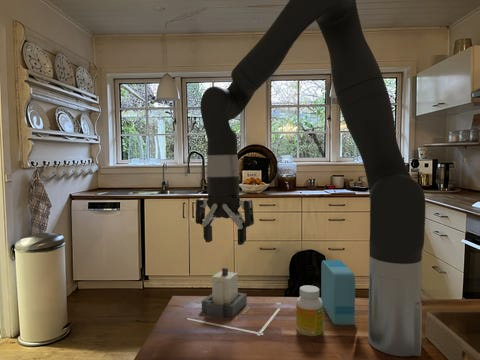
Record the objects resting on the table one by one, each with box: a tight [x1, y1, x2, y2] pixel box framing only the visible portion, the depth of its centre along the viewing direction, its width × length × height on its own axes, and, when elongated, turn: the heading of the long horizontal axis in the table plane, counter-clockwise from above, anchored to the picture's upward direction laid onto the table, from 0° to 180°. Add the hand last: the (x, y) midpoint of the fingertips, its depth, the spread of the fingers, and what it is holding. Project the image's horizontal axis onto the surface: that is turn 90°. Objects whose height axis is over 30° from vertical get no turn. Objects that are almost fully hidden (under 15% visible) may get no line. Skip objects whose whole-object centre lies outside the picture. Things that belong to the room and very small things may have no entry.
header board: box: [186, 307, 281, 337], centre depth 80 cm, size 18×14×1 cm
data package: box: [320, 259, 356, 326], centre depth 80 cm, size 12×4×12 cm, turn 0°
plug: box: [211, 267, 239, 305], centre depth 83 cm, size 4×6×10 cm
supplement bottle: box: [295, 285, 324, 337], centre depth 72 cm, size 5×5×10 cm
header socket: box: [201, 292, 251, 319], centre depth 83 cm, size 10×9×2 cm
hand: (224, 243), depth 83 cm, fingers open, 8 cm apart
